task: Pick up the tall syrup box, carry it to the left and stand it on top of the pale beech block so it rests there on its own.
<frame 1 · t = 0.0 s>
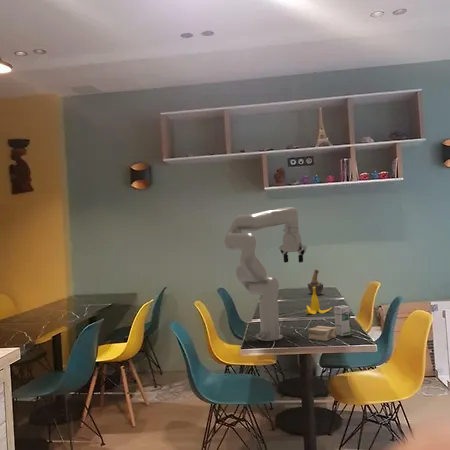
hand: (293, 262, 280), 37 cm above the table, tool pointing down, fingers open, 9 cm apart
banana peel: (319, 313, 330), on the table
beech block: (322, 338, 258), on the table
mortar and pestle: (315, 294, 412), on the table
syrup box: (343, 334, 262), on the table
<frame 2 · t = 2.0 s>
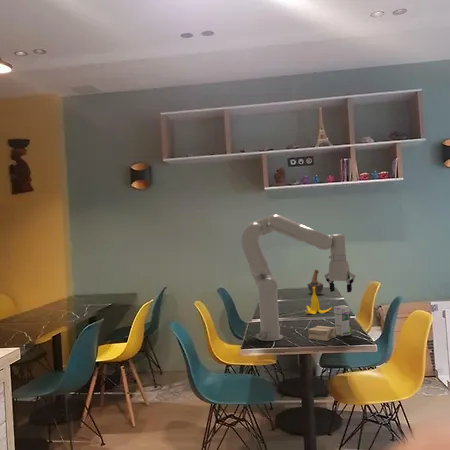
hand: (340, 291, 263), 22 cm above the table, tool pointing down, fingers open, 9 cm apart
nothing on the table moved.
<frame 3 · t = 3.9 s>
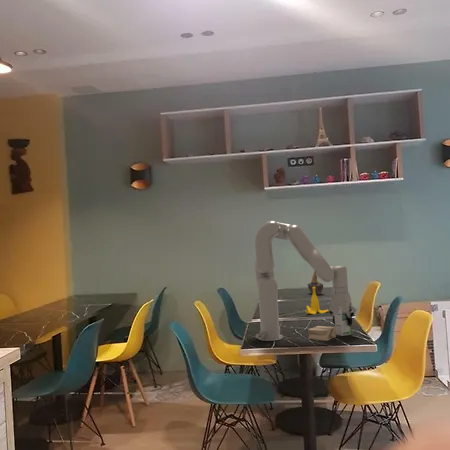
hand: (342, 324, 262), 5 cm above the table, tool pointing down, fingers closed on syrup box, 7 cm apart
syrup box: (343, 334, 262), on the table, touching gripper
everything else where it was.
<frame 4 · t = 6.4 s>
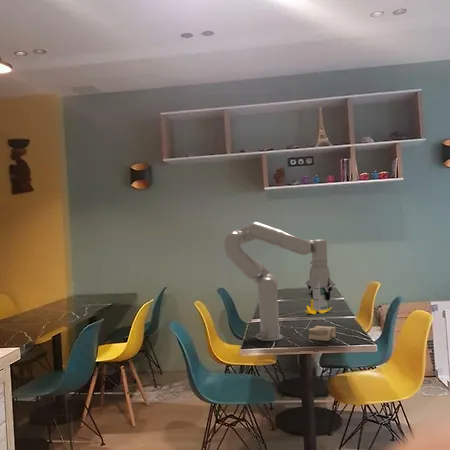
hand: (320, 299, 258), 19 cm above the table, tool pointing down, fingers closed on syrup box, 7 cm apart
syrup box: (320, 309, 258), point 14 cm above the table, touching gripper
everything else where it was.
when the fingers open (11 cm above the table, at t = 9.1 s): syrup box drops 1 cm, resting on beech block.
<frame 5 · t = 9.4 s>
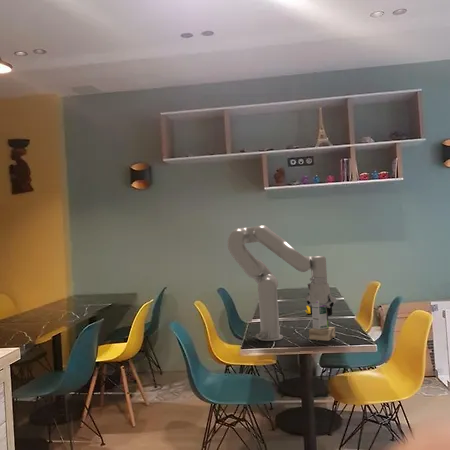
hand: (321, 314, 258), 11 cm above the table, tool pointing down, fingers open, 9 cm apart
beech block: (322, 338, 258), on the table, touching syrup box
syrup box: (320, 328, 258), point 4 cm above the table, touching beech block
everything else where it was.
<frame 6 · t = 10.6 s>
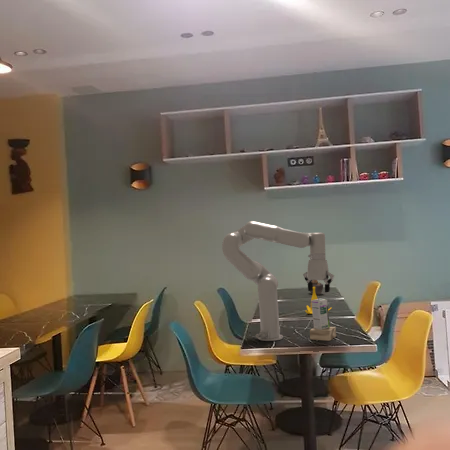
hand: (318, 291, 258), 23 cm above the table, tool pointing down, fingers open, 9 cm apart
beech block: (323, 338, 257), on the table
syrup box: (321, 328, 258), point 5 cm above the table
everything else where it was.
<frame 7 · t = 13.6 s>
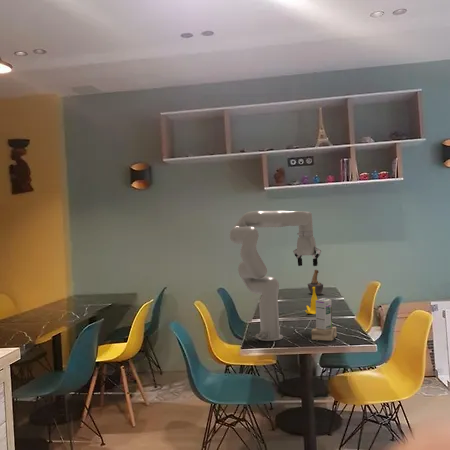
hand: (307, 265, 281), 34 cm above the table, tool pointing down, fingers open, 9 cm apart
syrup box: (324, 328, 257), point 5 cm above the table
everything else where it was.
at the end: syrup box inside the target area on the beech block (0.1 cm from its centre), point 5.1 cm above the beech block's base; syrup box tilted 5°; syrup box touching beech block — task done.
